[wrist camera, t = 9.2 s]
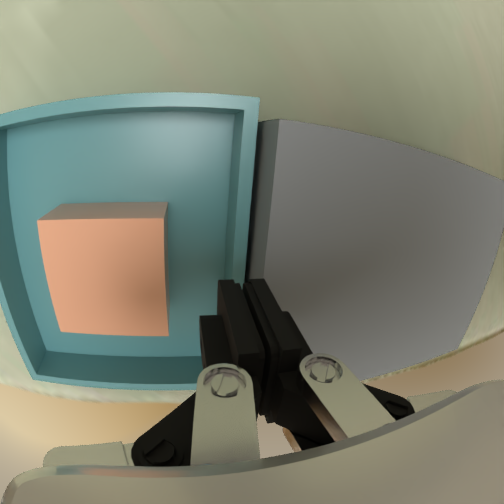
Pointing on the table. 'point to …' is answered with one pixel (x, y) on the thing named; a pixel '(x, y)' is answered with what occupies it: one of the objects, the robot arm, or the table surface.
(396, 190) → the slate bench plate
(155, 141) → the tray
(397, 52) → the table surface
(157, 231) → the terracotta block
